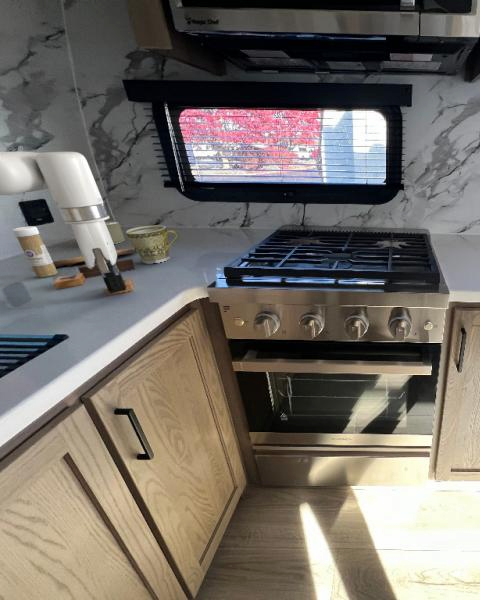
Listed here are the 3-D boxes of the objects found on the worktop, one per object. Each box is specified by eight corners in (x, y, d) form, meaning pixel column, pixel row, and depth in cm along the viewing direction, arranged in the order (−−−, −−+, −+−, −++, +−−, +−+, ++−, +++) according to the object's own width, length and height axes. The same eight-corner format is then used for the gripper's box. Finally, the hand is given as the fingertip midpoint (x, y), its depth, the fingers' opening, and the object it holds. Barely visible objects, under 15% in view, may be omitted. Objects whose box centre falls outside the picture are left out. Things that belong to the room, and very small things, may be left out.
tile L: (107, 296, 80) (104, 288, 79) (109, 289, 84) (106, 282, 83) (133, 291, 83) (130, 284, 82) (133, 284, 86) (130, 277, 86)
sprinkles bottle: (33, 279, 91) (7, 230, 85) (41, 273, 94) (17, 226, 89) (54, 276, 92) (30, 228, 86) (62, 271, 96) (39, 225, 90)
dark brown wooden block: (81, 278, 90) (76, 269, 89) (82, 275, 93) (78, 266, 92) (134, 269, 97) (131, 260, 96) (135, 266, 99) (131, 258, 98)
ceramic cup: (130, 267, 98) (117, 234, 94) (148, 256, 107) (137, 226, 103) (177, 264, 100) (167, 231, 96) (191, 254, 109) (181, 224, 105)
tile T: (56, 289, 84) (53, 282, 83) (60, 283, 88) (57, 276, 87) (82, 284, 87) (79, 278, 86) (85, 279, 90) (82, 272, 89)
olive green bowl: (84, 243, 123) (75, 224, 120) (124, 237, 130) (117, 219, 127) (85, 250, 115) (76, 230, 112) (127, 243, 122) (120, 224, 119)
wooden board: (138, 248, 116) (137, 245, 115) (140, 254, 108) (139, 251, 108) (41, 264, 102) (39, 261, 102) (35, 272, 95) (34, 269, 95)
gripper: (68, 210, 75) (101, 284, 84) (55, 222, 64) (95, 306, 72) (109, 206, 79) (137, 277, 87) (104, 217, 68) (136, 297, 76)
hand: (118, 290), depth 80 cm, fingers closed
